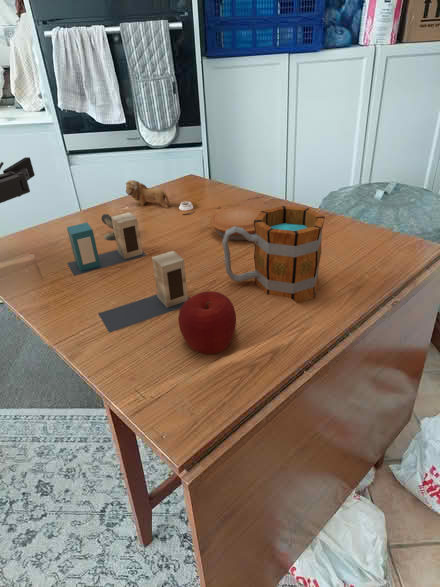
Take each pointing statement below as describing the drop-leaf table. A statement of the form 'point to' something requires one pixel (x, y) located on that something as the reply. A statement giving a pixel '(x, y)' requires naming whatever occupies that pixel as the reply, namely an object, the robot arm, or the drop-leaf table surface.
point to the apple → (207, 322)
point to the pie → (235, 221)
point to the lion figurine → (146, 193)
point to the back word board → (103, 261)
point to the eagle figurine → (108, 222)
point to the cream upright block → (170, 278)
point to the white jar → (186, 207)
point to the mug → (283, 252)
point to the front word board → (135, 313)
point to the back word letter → (127, 235)
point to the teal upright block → (83, 246)
